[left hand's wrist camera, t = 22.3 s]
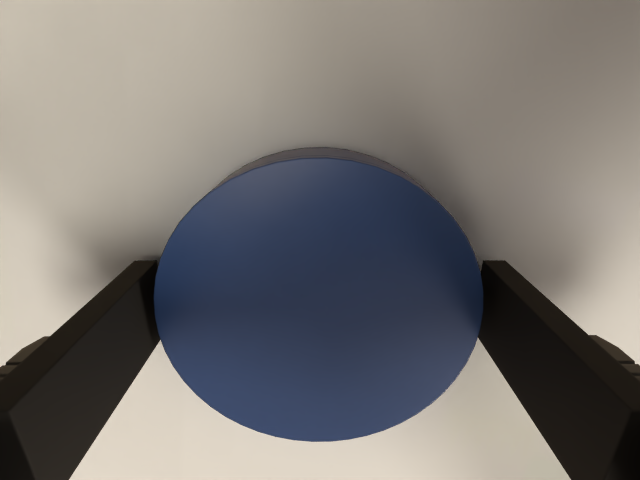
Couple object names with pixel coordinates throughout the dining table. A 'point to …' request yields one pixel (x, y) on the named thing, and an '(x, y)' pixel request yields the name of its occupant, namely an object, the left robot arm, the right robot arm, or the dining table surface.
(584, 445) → the left robot arm
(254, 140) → the dining table surface
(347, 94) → the dining table surface
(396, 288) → the lid
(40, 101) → the dining table surface
